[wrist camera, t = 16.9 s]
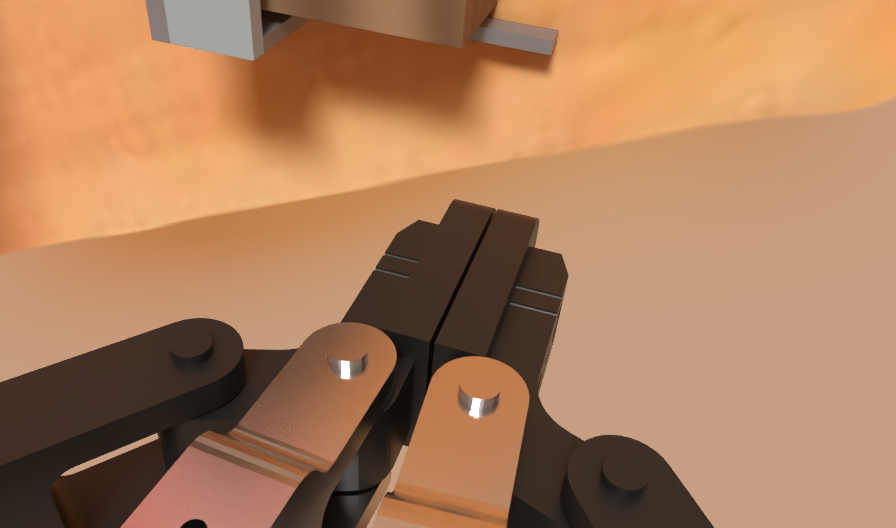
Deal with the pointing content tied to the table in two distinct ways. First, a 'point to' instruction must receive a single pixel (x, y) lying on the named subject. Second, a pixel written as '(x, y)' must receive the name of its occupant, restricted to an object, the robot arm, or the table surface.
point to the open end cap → (516, 36)
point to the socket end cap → (220, 25)
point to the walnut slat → (396, 16)
